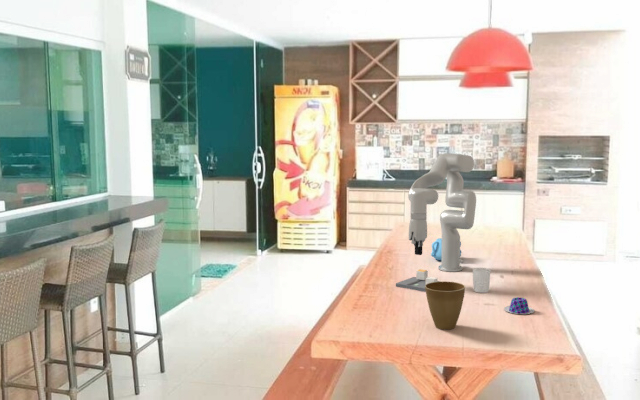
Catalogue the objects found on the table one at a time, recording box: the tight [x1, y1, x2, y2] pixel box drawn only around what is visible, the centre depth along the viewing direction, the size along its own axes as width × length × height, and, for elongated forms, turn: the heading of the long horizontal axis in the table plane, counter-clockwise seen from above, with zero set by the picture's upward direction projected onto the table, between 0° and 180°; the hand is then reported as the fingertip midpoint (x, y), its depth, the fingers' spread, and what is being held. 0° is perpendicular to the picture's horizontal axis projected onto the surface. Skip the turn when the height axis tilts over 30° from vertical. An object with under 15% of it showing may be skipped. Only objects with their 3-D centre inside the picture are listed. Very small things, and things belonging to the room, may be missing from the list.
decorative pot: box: [430, 237, 462, 261], centre depth 357 cm, size 16×16×14 cm
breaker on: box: [426, 276, 438, 284], centre depth 292 cm, size 3×4×4 cm
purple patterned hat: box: [503, 296, 535, 315], centre depth 260 cm, size 12×12×5 cm
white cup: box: [472, 267, 491, 294], centre depth 291 cm, size 8×8×10 cm
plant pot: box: [425, 281, 466, 331], centre depth 240 cm, size 15×15×16 cm
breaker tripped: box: [415, 269, 429, 280], centre depth 306 cm, size 3×4×4 cm
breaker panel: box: [395, 276, 442, 293], centre depth 299 cm, size 16×24×2 cm, turn 50°
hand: (418, 254), depth 303 cm, fingers closed
